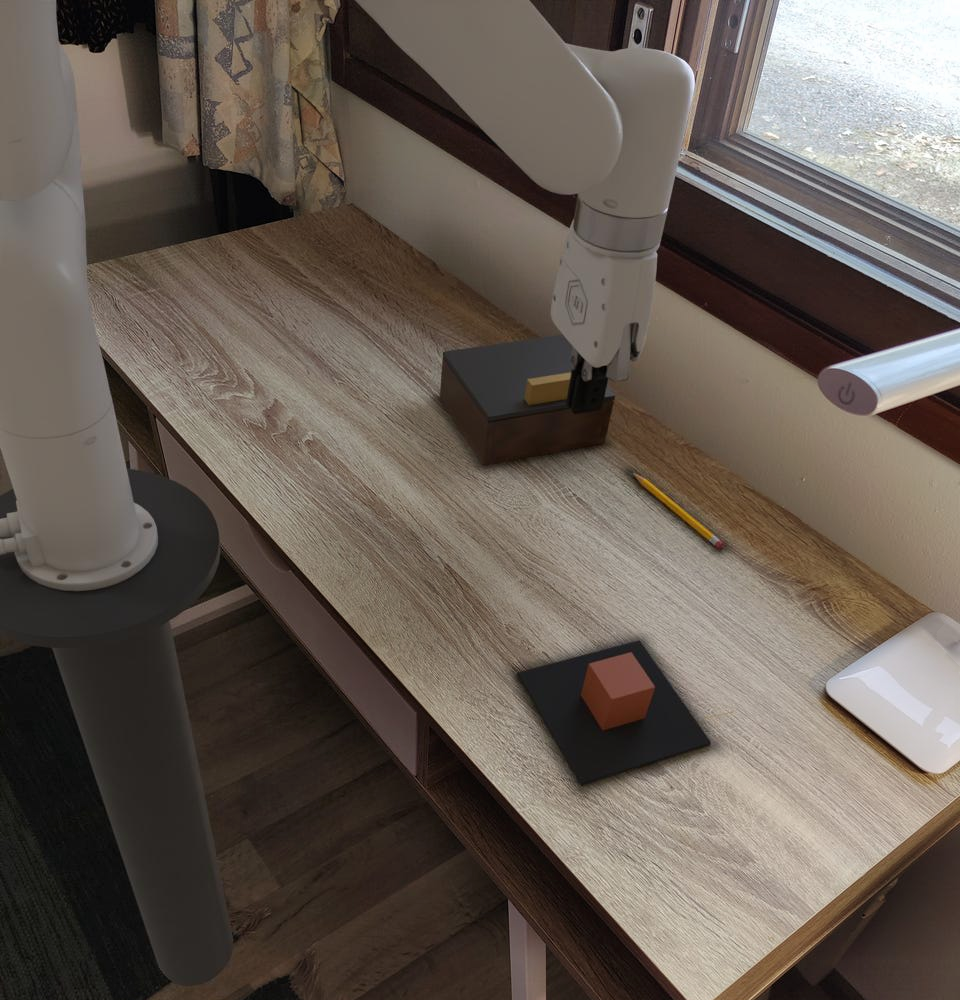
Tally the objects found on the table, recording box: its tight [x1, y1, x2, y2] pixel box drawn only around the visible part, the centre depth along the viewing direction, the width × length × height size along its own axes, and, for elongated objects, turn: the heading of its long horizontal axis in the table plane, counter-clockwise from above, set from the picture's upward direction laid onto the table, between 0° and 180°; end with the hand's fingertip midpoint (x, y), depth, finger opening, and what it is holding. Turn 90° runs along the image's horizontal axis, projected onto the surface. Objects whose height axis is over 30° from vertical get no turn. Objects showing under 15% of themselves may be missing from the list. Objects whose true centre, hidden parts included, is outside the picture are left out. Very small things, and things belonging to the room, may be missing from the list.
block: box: [581, 652, 655, 730], centre depth 81 cm, size 4×4×4 cm
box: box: [439, 357, 615, 466], centre depth 108 cm, size 15×13×5 cm
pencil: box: [632, 472, 725, 550], centre depth 101 cm, size 1×13×1 cm, turn 36°
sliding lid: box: [442, 334, 616, 421], centre depth 105 cm, size 15×13×3 cm
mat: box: [516, 640, 712, 786], centre depth 82 cm, size 12×12×1 cm
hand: (583, 407), depth 96 cm, fingers closed
